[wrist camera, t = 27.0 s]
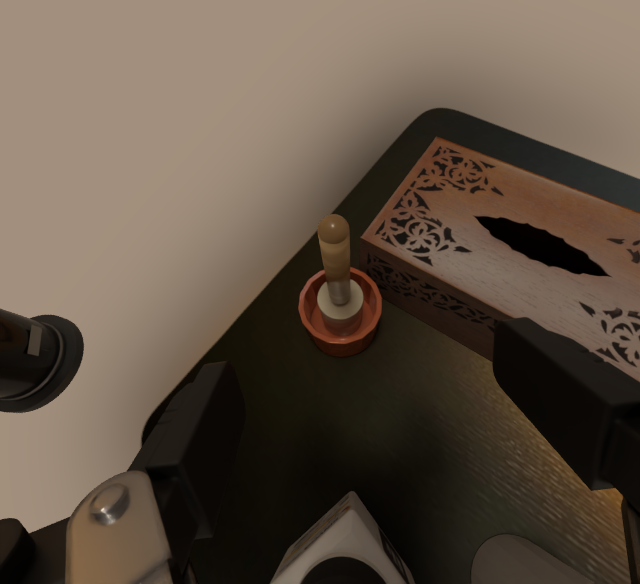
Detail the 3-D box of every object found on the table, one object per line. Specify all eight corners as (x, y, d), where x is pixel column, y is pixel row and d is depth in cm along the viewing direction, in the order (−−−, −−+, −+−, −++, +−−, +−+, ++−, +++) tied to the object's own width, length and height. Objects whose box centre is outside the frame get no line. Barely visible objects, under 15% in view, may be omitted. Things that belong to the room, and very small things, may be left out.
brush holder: (318, 366, 34) (312, 355, 28) (299, 302, 37) (289, 280, 31) (388, 343, 34) (394, 327, 28) (362, 281, 37) (364, 256, 32)
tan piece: (330, 342, 34) (308, 263, 17) (317, 307, 36) (287, 205, 19) (367, 328, 34) (381, 237, 18) (353, 294, 36) (353, 183, 19)
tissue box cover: (358, 284, 37) (360, 237, 28) (417, 201, 41) (436, 136, 32) (590, 418, 29) (698, 415, 20) (635, 299, 33) (743, 251, 24)
